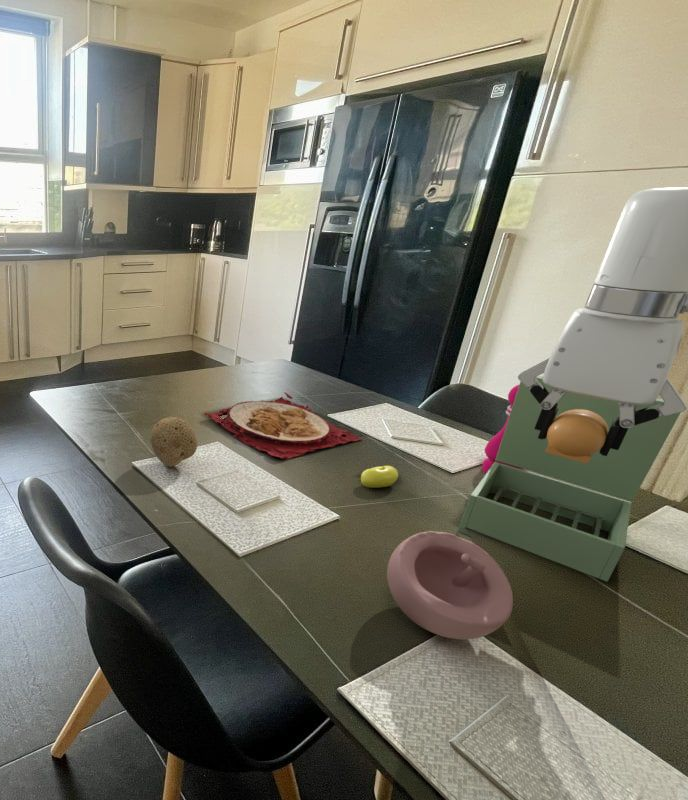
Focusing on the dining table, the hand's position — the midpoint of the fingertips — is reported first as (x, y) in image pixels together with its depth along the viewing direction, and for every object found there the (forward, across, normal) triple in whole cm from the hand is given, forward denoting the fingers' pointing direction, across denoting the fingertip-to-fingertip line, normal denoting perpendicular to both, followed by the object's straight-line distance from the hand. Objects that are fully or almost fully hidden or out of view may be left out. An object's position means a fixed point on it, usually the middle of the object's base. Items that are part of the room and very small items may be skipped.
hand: (572, 442), depth 63 cm
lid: (+4, 0, -16) cm, 17 cm away
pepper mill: (+20, +8, -31) cm, 38 cm away
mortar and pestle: (+20, +5, +22) cm, 30 cm away
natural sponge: (+20, +52, +16) cm, 57 cm away
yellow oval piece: (+20, +22, -8) cm, 31 cm away
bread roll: (+1, 0, 0) cm, 1 cm away
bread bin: (+20, 0, -11) cm, 22 cm away
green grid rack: (+20, 0, -11) cm, 22 cm away
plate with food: (+20, +46, -17) cm, 53 cm away
